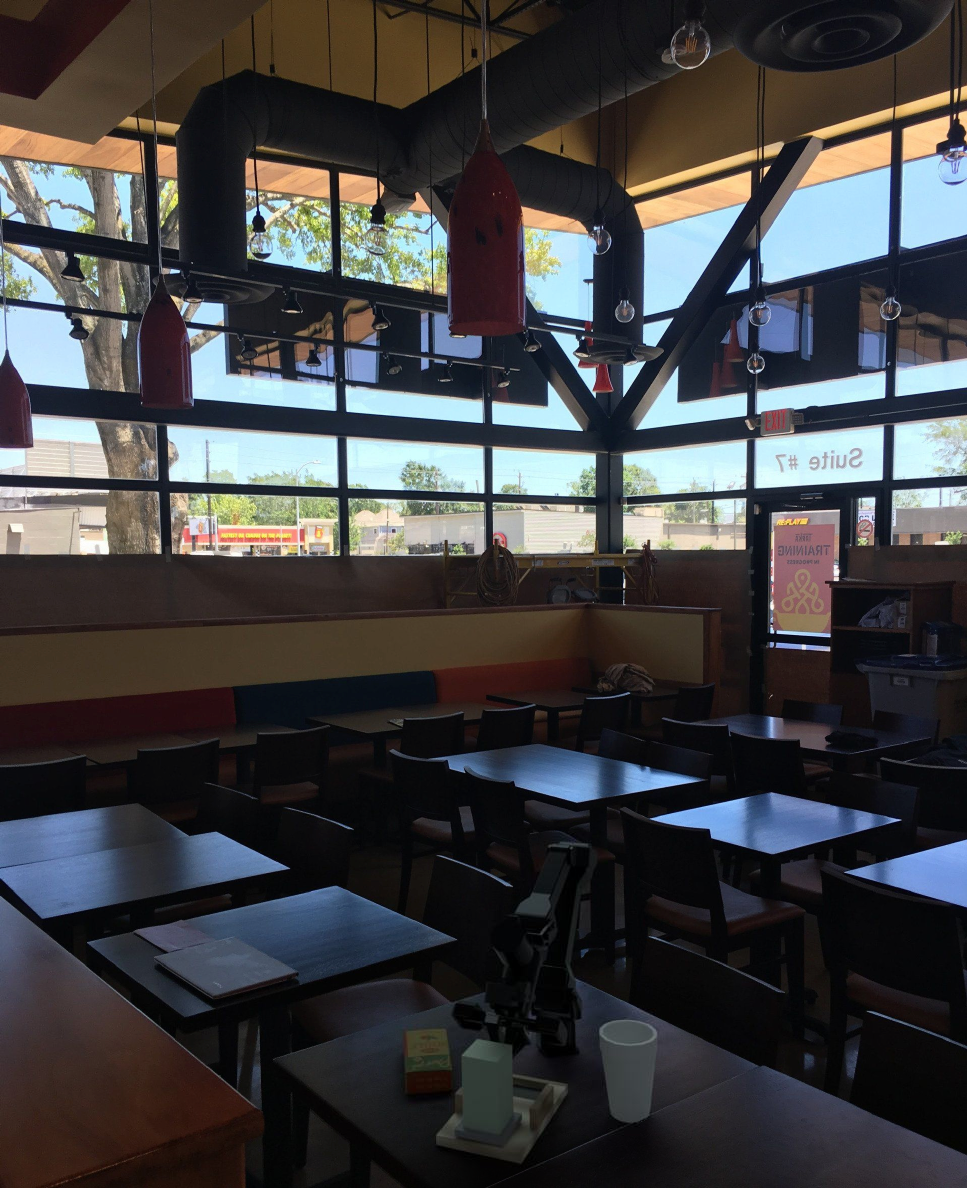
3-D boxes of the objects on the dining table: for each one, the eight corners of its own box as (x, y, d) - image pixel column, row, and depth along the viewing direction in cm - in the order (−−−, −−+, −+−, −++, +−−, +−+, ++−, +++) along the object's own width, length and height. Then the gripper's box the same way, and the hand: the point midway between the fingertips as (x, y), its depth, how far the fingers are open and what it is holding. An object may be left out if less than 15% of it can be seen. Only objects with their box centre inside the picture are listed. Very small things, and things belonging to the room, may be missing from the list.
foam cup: (663, 1102, 160) (661, 1023, 160) (654, 1131, 151) (652, 1048, 151) (607, 1094, 163) (605, 1016, 163) (595, 1122, 154) (593, 1040, 154)
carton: (447, 1049, 181) (447, 1026, 181) (453, 1093, 165) (453, 1068, 165) (402, 1052, 180) (402, 1029, 180) (405, 1096, 164) (404, 1071, 164)
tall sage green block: (475, 1109, 155) (473, 1035, 155) (522, 1119, 152) (520, 1043, 152) (454, 1135, 148) (452, 1057, 148) (502, 1146, 145) (501, 1066, 145)
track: (491, 1078, 169) (491, 1052, 169) (567, 1092, 163) (567, 1066, 163) (436, 1144, 149) (435, 1115, 149) (521, 1163, 143) (520, 1133, 143)
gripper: (454, 951, 162) (426, 1045, 151) (560, 965, 154) (538, 1066, 144) (474, 981, 169) (448, 1073, 159) (576, 996, 161) (556, 1094, 151)
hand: (495, 1076), depth 153 cm, fingers closed, pressing on tall sage green block
